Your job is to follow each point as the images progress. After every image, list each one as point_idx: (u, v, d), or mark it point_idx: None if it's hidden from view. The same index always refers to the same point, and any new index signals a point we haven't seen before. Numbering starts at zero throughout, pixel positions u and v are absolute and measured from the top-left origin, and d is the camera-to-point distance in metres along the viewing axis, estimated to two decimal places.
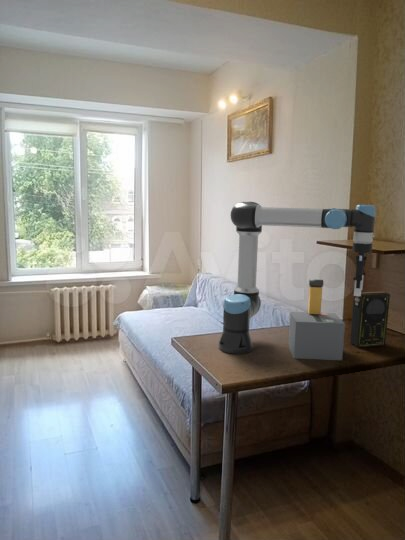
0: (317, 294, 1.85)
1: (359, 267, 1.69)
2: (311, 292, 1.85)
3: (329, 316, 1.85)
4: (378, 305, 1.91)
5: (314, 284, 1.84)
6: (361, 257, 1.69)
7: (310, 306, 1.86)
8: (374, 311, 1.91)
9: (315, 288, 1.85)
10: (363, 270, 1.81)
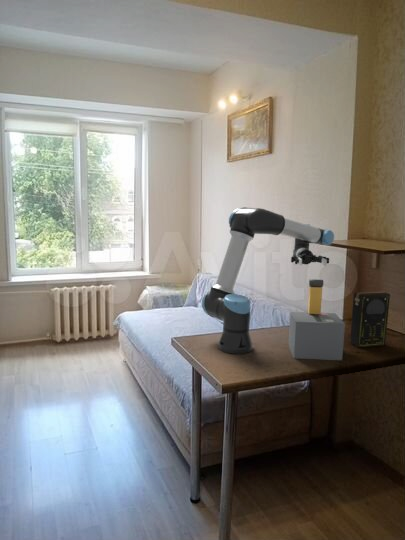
0: (317, 294, 1.85)
1: None
2: (311, 292, 1.85)
3: (329, 316, 1.85)
4: (378, 305, 1.91)
5: (314, 284, 1.84)
6: None
7: (310, 306, 1.86)
8: (374, 311, 1.91)
9: (315, 288, 1.85)
10: None
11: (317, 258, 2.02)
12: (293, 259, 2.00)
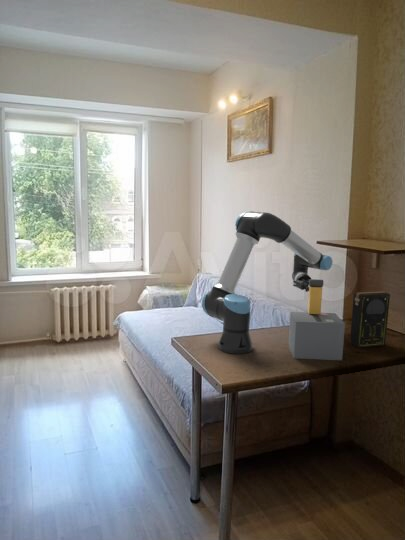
0: (317, 294, 1.85)
1: None
2: (311, 292, 1.85)
3: (329, 316, 1.85)
4: (378, 305, 1.91)
5: (314, 284, 1.84)
6: None
7: (310, 306, 1.86)
8: (374, 311, 1.91)
9: (315, 288, 1.85)
10: None
11: None
12: (303, 287, 2.00)
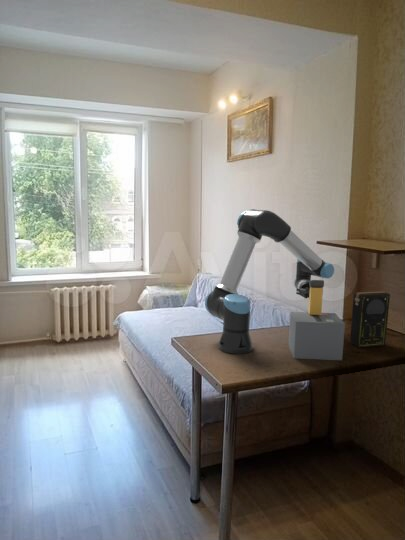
0: (318, 295, 1.84)
1: None
2: (312, 293, 1.84)
3: (329, 316, 1.85)
4: (378, 305, 1.91)
5: (315, 285, 1.83)
6: None
7: (311, 307, 1.85)
8: (374, 311, 1.91)
9: (316, 289, 1.83)
10: None
11: None
12: (307, 295, 1.94)
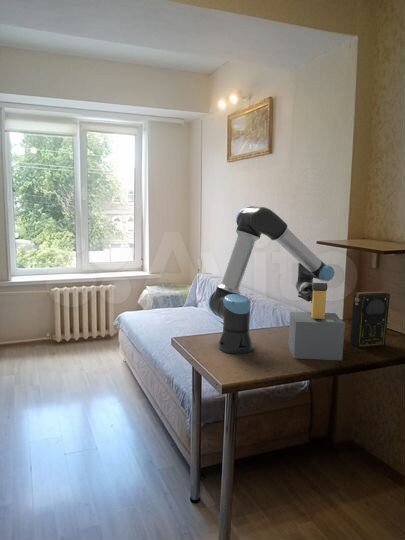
0: (321, 298, 1.78)
1: None
2: (315, 296, 1.78)
3: (329, 316, 1.85)
4: (378, 305, 1.91)
5: (318, 288, 1.77)
6: None
7: (313, 310, 1.79)
8: (374, 311, 1.91)
9: (319, 292, 1.77)
10: None
11: None
12: (309, 298, 1.88)
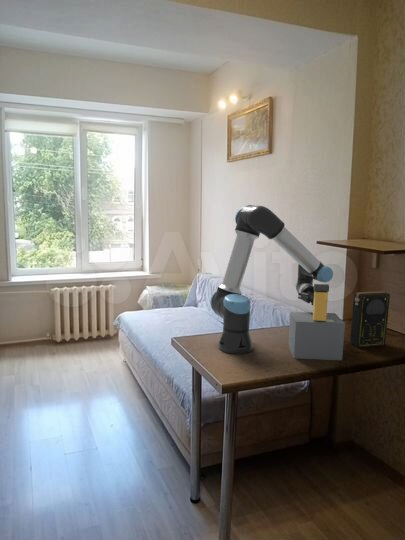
0: (322, 300, 1.75)
1: None
2: (316, 297, 1.75)
3: (329, 316, 1.85)
4: (378, 305, 1.91)
5: (319, 289, 1.74)
6: None
7: (315, 312, 1.76)
8: (374, 311, 1.91)
9: (320, 293, 1.74)
10: None
11: None
12: (310, 300, 1.85)
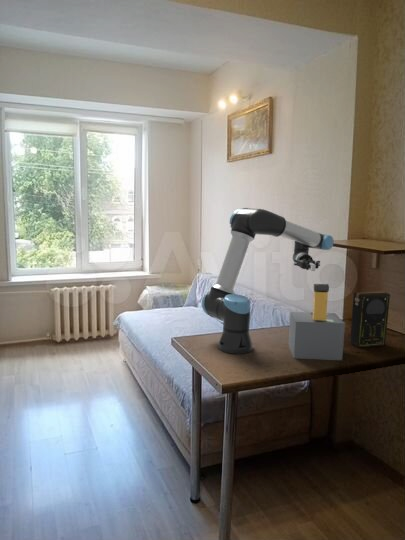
0: (322, 300, 1.75)
1: (318, 264, 2.03)
2: (316, 297, 1.75)
3: (329, 316, 1.85)
4: (378, 305, 1.91)
5: (319, 289, 1.74)
6: (319, 264, 2.07)
7: (315, 312, 1.76)
8: (374, 311, 1.91)
9: (320, 293, 1.75)
10: None
11: (310, 263, 2.02)
12: (304, 265, 1.99)
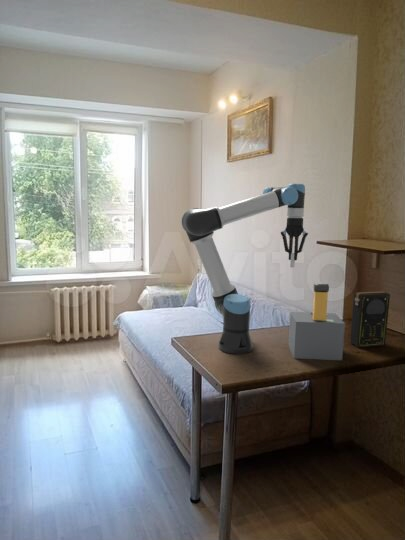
0: (322, 300, 1.75)
1: (303, 242, 1.98)
2: (316, 297, 1.75)
3: (329, 316, 1.85)
4: (378, 305, 1.91)
5: (319, 289, 1.74)
6: (307, 234, 1.97)
7: (315, 312, 1.76)
8: (374, 311, 1.91)
9: (320, 293, 1.75)
10: (292, 246, 2.02)
11: None
12: (287, 251, 2.02)
